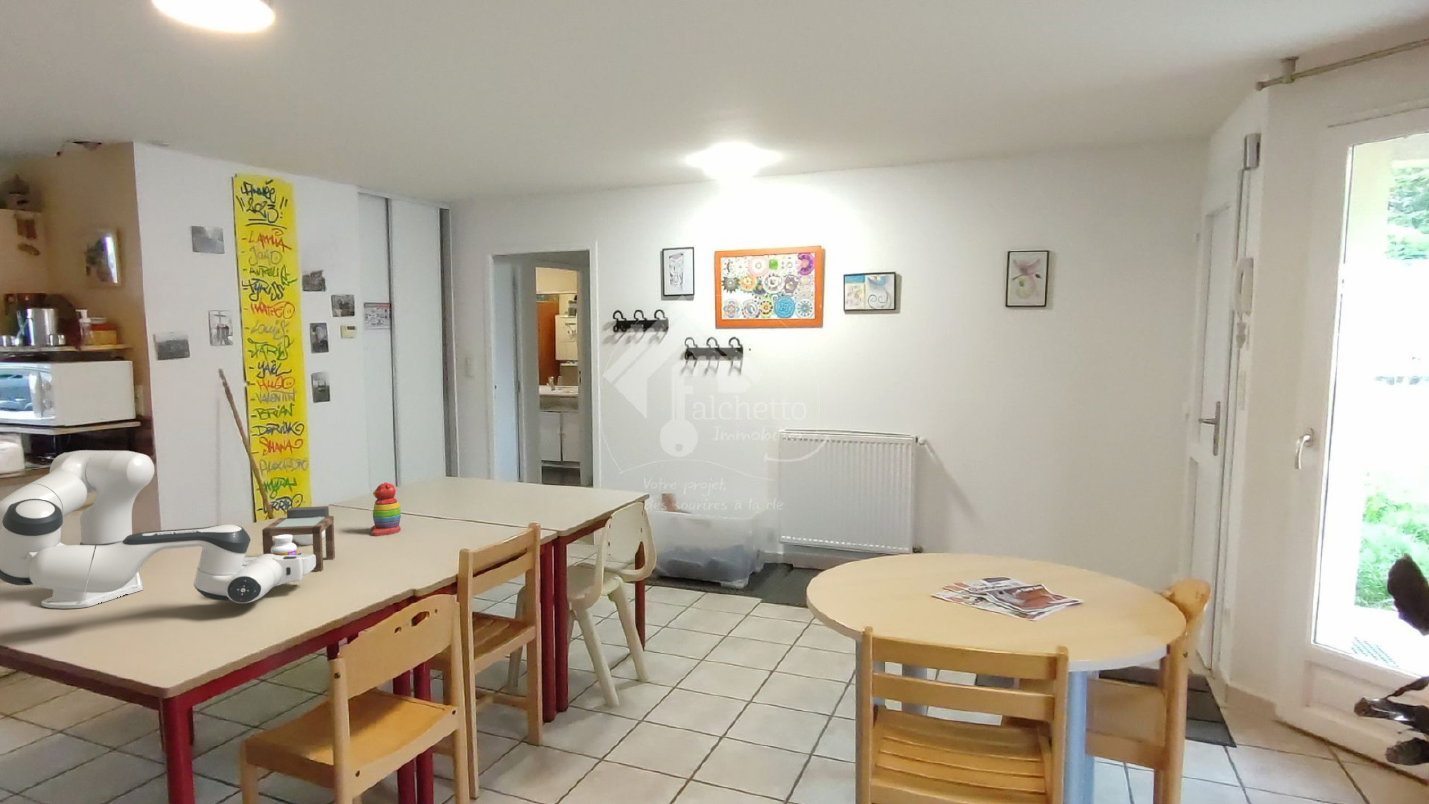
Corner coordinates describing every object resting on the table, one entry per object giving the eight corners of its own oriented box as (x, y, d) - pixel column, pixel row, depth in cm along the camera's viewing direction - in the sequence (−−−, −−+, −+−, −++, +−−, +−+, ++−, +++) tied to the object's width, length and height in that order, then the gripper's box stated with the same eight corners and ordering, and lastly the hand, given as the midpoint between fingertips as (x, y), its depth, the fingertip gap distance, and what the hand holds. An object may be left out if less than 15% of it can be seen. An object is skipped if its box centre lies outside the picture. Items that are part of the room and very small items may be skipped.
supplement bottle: (289, 583, 218) (287, 539, 217) (266, 583, 218) (264, 539, 217) (302, 576, 224) (301, 533, 223) (280, 575, 225) (278, 533, 223)
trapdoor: (291, 526, 243) (291, 507, 242) (329, 524, 245) (328, 506, 245) (274, 538, 228) (273, 519, 227) (314, 536, 230) (313, 517, 230)
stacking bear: (370, 529, 278) (369, 481, 277) (400, 526, 283) (399, 479, 281) (371, 536, 269) (369, 487, 267) (402, 533, 273) (400, 484, 271)
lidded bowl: (338, 538, 266) (337, 507, 265) (315, 548, 254) (314, 515, 253) (304, 537, 268) (303, 506, 267) (280, 547, 255) (279, 514, 254)
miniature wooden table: (281, 560, 240) (279, 518, 239) (335, 557, 243) (333, 515, 242) (264, 574, 226) (262, 529, 225) (321, 571, 229) (319, 527, 228)
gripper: (224, 584, 205) (244, 569, 218) (307, 580, 209) (322, 565, 222) (223, 561, 204) (243, 547, 218) (306, 557, 208) (321, 544, 222)
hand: (284, 556), depth 220 cm, fingers open, 8 cm apart
